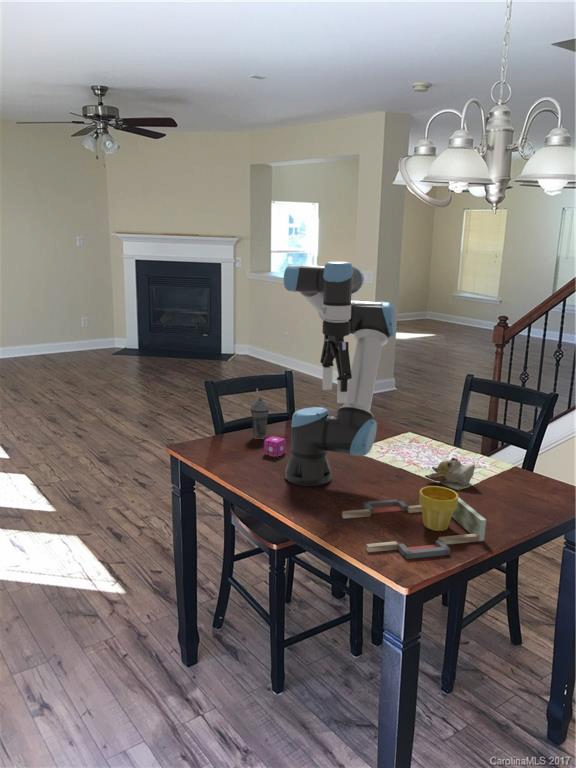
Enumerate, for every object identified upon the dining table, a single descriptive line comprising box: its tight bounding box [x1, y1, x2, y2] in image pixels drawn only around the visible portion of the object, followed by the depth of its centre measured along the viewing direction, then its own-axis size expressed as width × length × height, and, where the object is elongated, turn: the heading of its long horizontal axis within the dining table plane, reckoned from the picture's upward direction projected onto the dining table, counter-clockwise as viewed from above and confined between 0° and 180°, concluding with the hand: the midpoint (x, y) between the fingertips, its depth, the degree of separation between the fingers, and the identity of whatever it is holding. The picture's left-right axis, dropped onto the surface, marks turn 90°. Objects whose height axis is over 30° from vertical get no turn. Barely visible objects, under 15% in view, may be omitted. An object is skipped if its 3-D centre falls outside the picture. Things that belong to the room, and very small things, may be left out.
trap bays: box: [362, 498, 451, 560], centre depth 168 cm, size 31×12×2 cm, turn 13°
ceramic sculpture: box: [424, 457, 476, 487], centre depth 202 cm, size 11×9×15 cm
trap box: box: [341, 496, 487, 553], centre depth 168 cm, size 21×32×6 cm, turn 103°
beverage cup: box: [250, 388, 270, 438], centre depth 239 cm, size 7×7×20 cm
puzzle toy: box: [263, 436, 287, 456], centre depth 223 cm, size 6×6×6 cm
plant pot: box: [418, 485, 459, 532], centre depth 170 cm, size 10×10×10 cm
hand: (334, 395), depth 172 cm, fingers open, 13 cm apart
